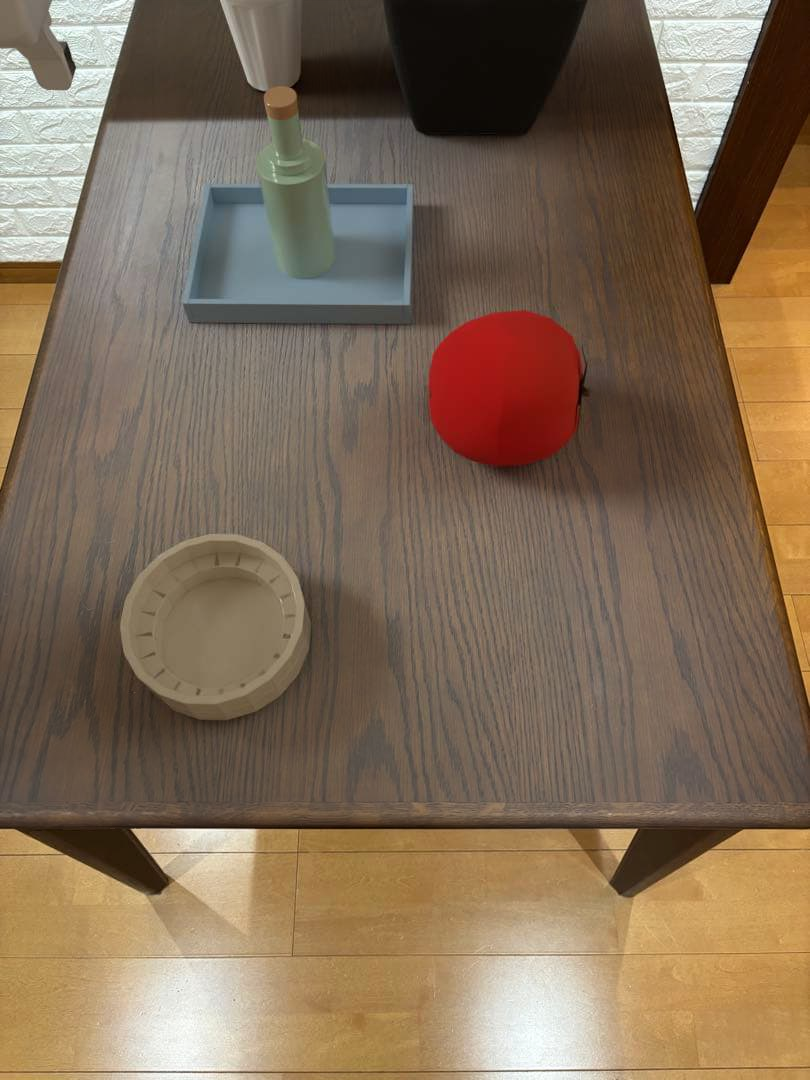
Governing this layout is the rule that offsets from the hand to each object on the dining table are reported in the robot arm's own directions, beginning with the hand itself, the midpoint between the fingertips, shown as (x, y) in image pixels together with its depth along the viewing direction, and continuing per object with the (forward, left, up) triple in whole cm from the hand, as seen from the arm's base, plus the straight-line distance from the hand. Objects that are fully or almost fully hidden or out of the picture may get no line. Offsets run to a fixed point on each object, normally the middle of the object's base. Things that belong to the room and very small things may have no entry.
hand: (77, 29), depth 47 cm
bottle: (+8, +16, -32) cm, 36 cm away
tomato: (+27, -4, -32) cm, 42 cm away
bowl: (+5, -24, -32) cm, 41 cm away
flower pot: (+25, +41, -32) cm, 57 cm away
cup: (+2, +45, -32) cm, 55 cm away
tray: (+8, +16, -32) cm, 37 cm away
